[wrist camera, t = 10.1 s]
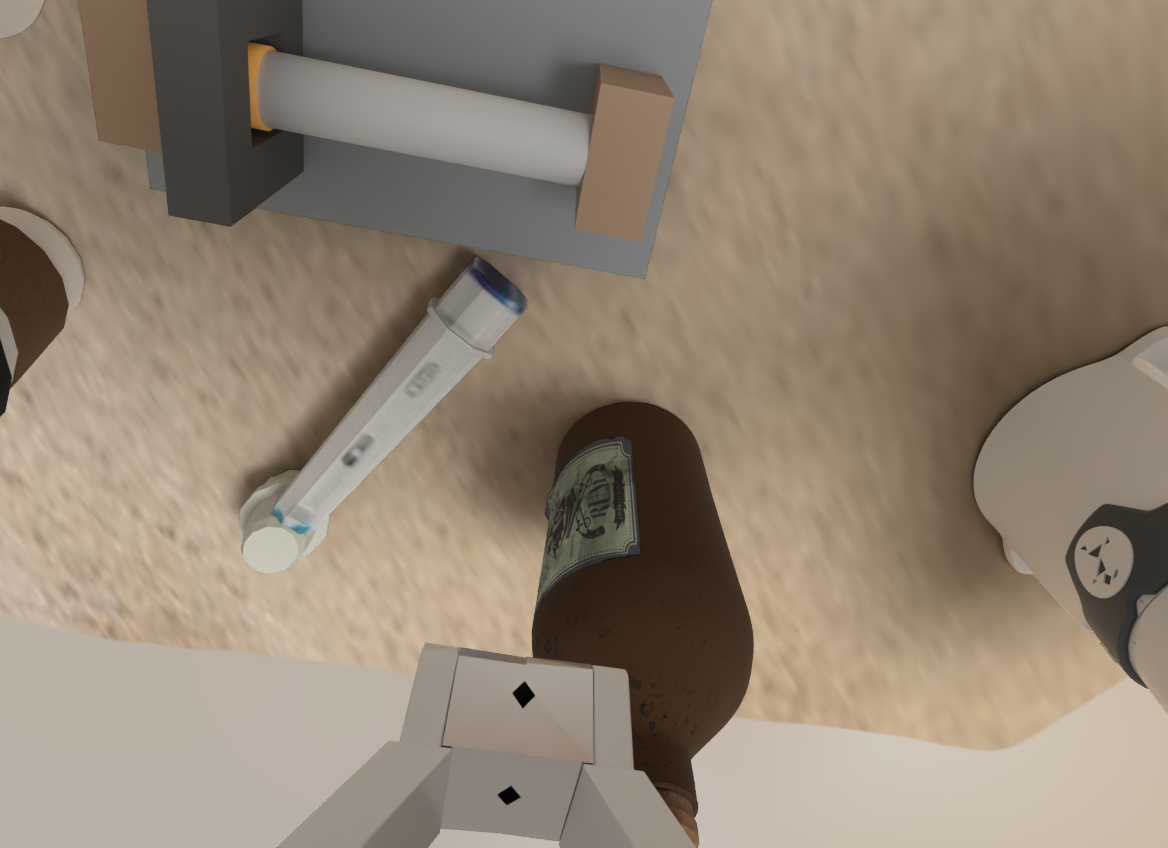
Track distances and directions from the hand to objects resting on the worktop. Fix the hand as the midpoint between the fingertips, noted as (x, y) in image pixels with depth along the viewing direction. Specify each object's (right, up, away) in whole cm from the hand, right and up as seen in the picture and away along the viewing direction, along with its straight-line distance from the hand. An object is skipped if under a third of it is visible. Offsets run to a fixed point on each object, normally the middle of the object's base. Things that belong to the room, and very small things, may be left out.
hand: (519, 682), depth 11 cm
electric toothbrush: (-12, +5, +37) cm, 39 cm away
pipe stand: (-7, +20, +26) cm, 34 cm away
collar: (-13, +20, +24) cm, 34 cm away
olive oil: (+4, +2, +38) cm, 38 cm away
